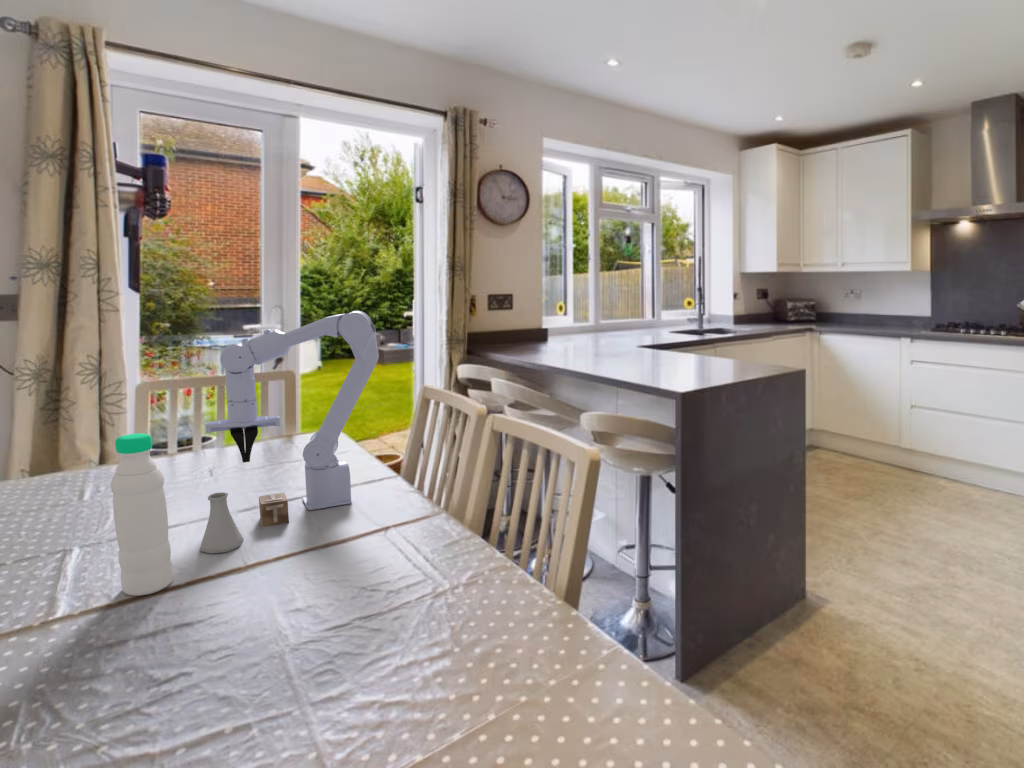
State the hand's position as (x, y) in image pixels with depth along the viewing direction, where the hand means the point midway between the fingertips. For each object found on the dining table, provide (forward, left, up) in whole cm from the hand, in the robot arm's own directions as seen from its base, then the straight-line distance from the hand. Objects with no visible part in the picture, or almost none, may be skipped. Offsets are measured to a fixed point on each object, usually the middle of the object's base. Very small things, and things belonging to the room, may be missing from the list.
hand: (246, 461), depth 125 cm
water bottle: (+17, +30, -11) cm, 36 cm away
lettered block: (-4, +11, -10) cm, 16 cm away
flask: (+6, +19, -11) cm, 23 cm away
